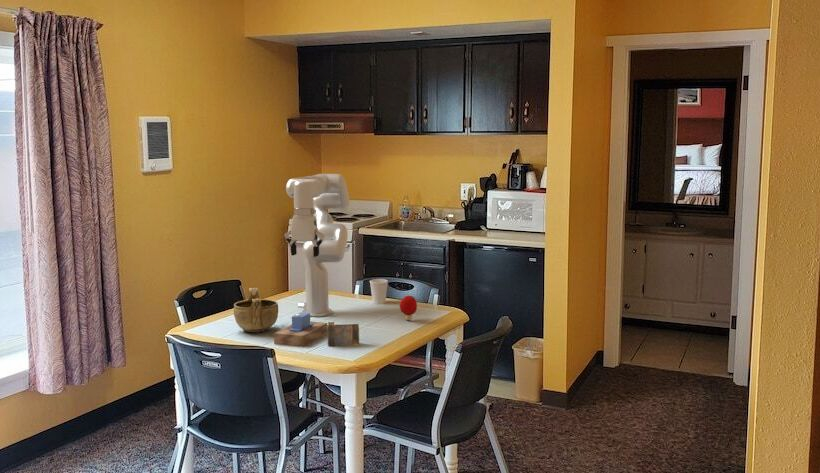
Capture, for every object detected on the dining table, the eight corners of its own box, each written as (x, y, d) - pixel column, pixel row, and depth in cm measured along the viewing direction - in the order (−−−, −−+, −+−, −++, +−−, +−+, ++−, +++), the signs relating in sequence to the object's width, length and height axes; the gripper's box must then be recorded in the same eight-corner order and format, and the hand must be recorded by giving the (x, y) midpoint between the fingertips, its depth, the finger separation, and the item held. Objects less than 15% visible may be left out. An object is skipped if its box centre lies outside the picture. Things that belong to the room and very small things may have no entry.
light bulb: (414, 324, 315) (414, 299, 314) (397, 323, 317) (397, 298, 315) (419, 318, 324) (418, 294, 323) (402, 317, 326) (402, 294, 325)
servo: (303, 331, 300) (303, 309, 299) (312, 332, 299) (312, 310, 298) (289, 338, 290) (289, 316, 289) (299, 339, 289) (298, 317, 288)
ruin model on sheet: (327, 347, 284) (327, 321, 282) (327, 345, 287) (327, 319, 285) (359, 346, 285) (359, 320, 284) (358, 344, 288) (358, 318, 287)
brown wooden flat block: (274, 343, 287) (273, 333, 287) (299, 330, 306) (299, 320, 306) (303, 346, 283) (303, 335, 283) (327, 333, 302) (327, 322, 302)
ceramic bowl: (233, 325, 315) (231, 288, 313) (276, 322, 320) (275, 286, 317) (235, 339, 294) (234, 300, 292) (281, 336, 298) (280, 297, 296)
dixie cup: (371, 300, 359) (371, 278, 358) (389, 300, 358) (389, 279, 357) (368, 304, 351) (367, 282, 350) (386, 304, 350) (386, 282, 349)
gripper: (328, 212, 308) (328, 255, 311) (288, 210, 314) (289, 253, 316) (319, 214, 301) (320, 258, 304) (279, 212, 307) (280, 256, 309)
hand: (304, 255), depth 310 cm, fingers open, 9 cm apart
